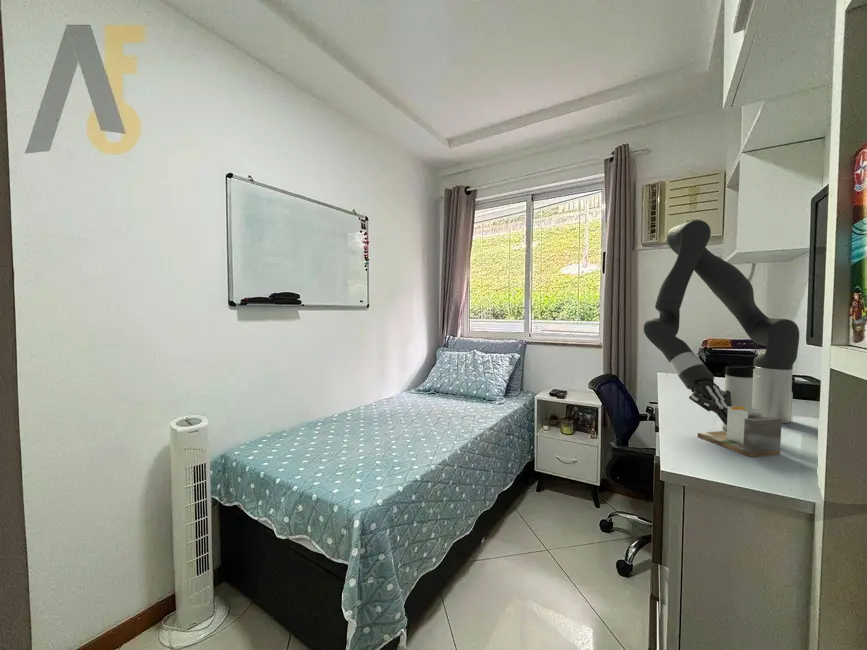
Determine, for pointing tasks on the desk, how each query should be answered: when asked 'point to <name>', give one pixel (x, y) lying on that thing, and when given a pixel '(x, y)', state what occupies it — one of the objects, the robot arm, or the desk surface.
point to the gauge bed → (752, 437)
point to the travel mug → (739, 386)
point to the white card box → (739, 422)
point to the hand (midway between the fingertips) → (731, 423)
